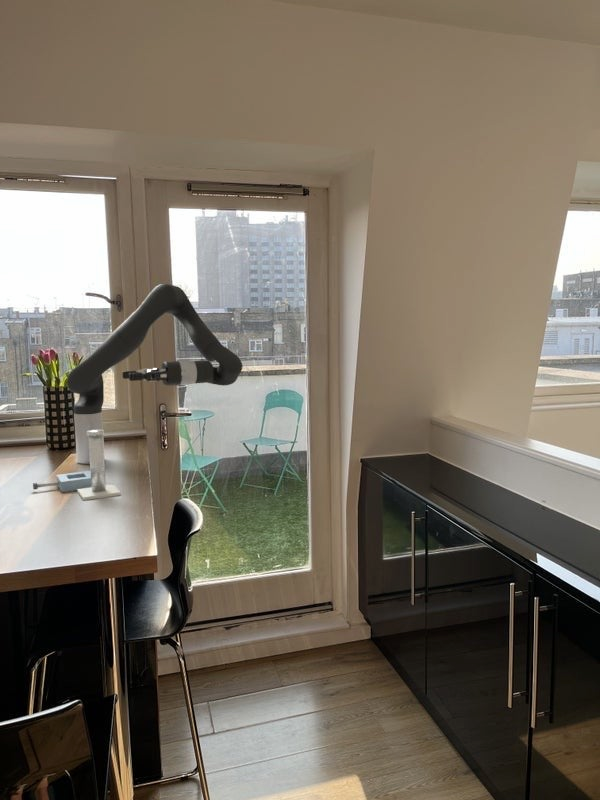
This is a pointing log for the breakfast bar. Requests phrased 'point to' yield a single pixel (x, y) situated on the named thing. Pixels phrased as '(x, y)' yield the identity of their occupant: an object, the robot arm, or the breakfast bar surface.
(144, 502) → the breakfast bar surface
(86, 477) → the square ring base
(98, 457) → the steel pin
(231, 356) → the robot arm
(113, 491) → the felt pad
